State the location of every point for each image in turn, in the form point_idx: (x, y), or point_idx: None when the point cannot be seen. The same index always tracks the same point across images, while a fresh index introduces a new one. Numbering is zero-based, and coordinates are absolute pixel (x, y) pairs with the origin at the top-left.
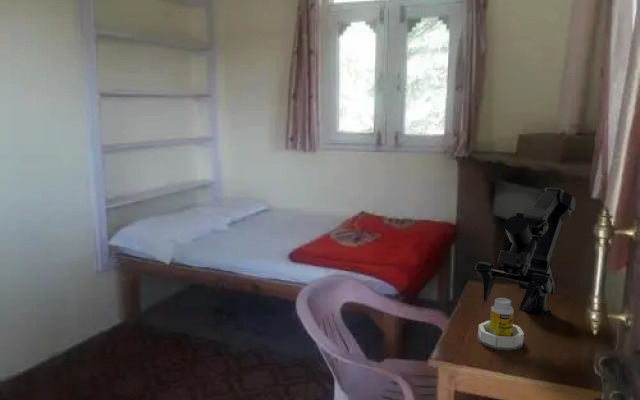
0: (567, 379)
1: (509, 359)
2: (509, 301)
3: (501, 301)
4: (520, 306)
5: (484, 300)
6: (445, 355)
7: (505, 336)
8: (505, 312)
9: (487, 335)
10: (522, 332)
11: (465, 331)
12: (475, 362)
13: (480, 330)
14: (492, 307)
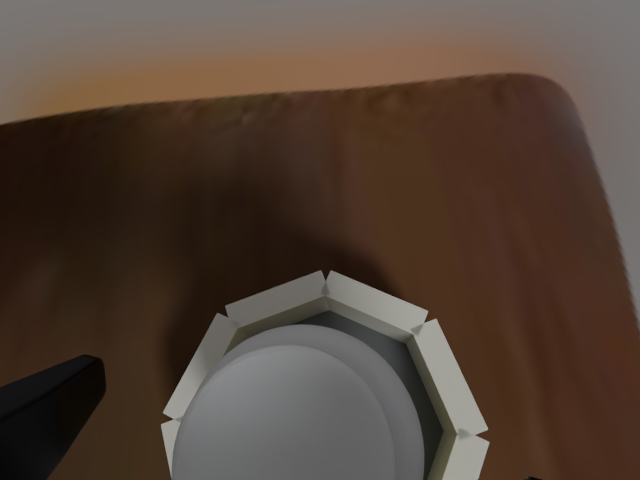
0: (33, 153)
1: (256, 212)
2: (191, 444)
3: (295, 392)
4: (70, 374)
5: (537, 478)
6: (539, 118)
7: (276, 309)
8: (257, 337)
9: (389, 296)
10: (169, 435)
11: (567, 472)
12: (395, 119)
13: (450, 354)
14: (402, 403)
